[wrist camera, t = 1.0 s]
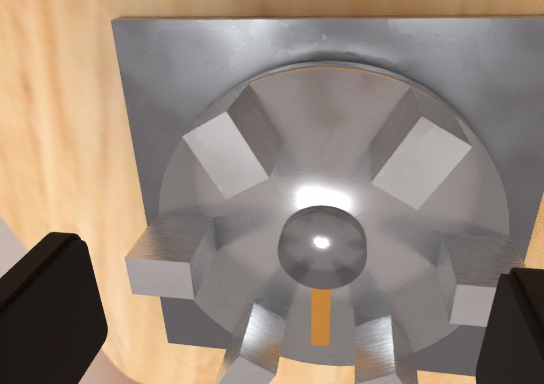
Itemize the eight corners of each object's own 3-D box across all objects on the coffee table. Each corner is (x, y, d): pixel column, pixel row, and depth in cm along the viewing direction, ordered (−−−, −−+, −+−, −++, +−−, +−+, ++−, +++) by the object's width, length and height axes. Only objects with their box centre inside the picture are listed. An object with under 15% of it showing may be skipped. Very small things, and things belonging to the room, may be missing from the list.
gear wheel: (148, 59, 26) (89, 90, 20) (536, 62, 23) (595, 101, 17) (188, 329, 35) (155, 402, 29) (467, 358, 32) (491, 446, 26)
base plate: (119, 17, 26) (109, 20, 25) (582, 14, 23) (593, 18, 22) (172, 333, 38) (167, 344, 36) (488, 367, 34) (492, 380, 33)
